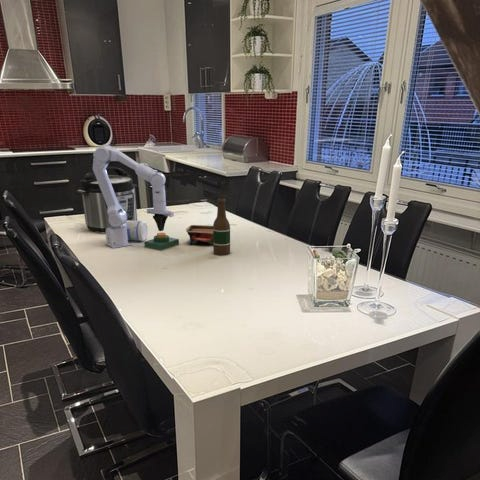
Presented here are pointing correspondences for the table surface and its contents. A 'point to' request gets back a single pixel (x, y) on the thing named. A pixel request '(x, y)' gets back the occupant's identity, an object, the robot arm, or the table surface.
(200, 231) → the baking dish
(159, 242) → the button box
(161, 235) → the button
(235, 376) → the table surface
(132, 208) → the pressure cooker
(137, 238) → the supplement tub
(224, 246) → the beer bottle
